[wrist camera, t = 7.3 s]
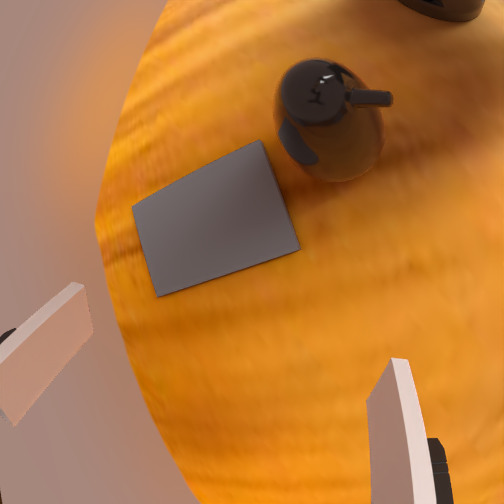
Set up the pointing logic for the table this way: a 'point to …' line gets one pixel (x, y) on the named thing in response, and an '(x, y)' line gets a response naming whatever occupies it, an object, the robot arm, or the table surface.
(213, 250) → the mat
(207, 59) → the table surface
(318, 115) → the pump dispenser
